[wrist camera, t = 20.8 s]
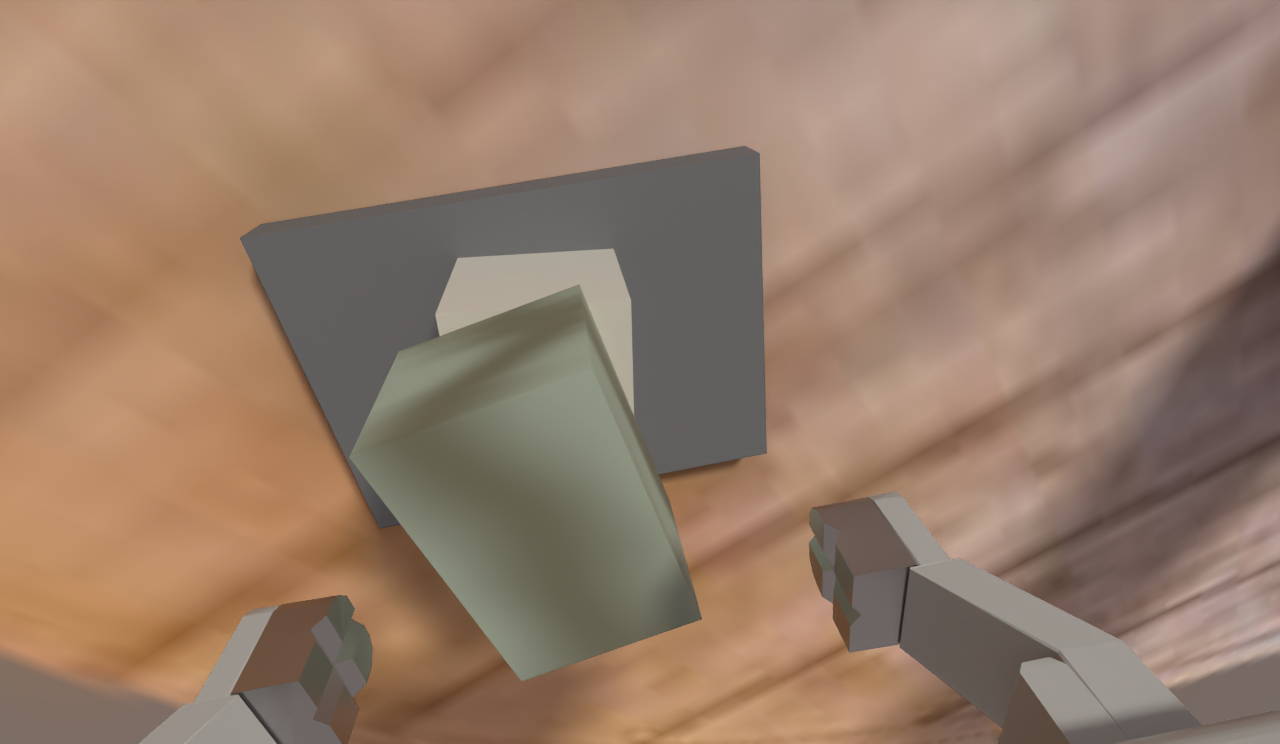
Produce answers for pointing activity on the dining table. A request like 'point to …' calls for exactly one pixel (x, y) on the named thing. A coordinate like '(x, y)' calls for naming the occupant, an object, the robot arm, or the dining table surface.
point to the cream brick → (544, 295)
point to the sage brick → (530, 485)
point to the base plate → (541, 223)
